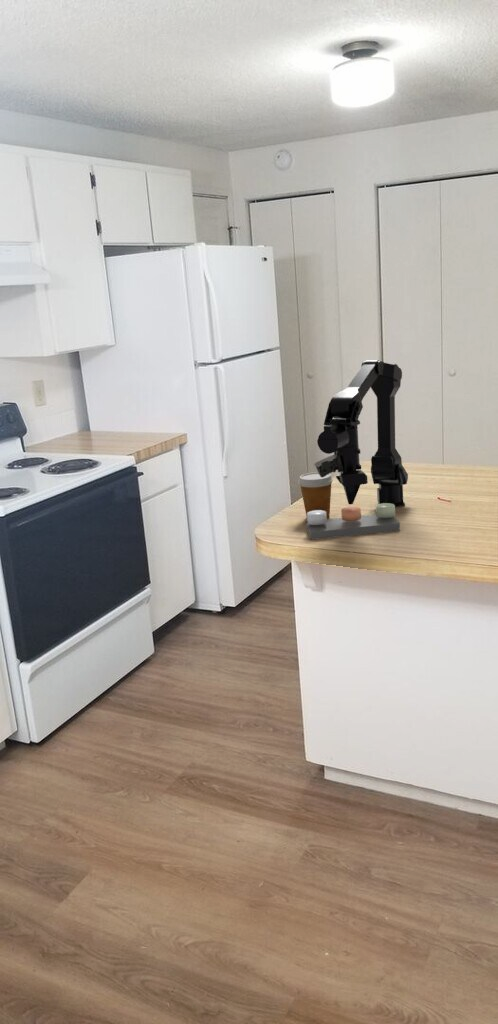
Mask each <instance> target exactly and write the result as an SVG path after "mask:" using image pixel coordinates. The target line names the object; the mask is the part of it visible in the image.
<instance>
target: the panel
mask: <svg viewBox="0 0 498 1024" xmlns="http://www.w3.org/2000/svg"><path fill="white" fill-rule="evenodd" d="M400 524H401V523H400V522H399V520H398V519H397V518H396V517H395V516H393V517H389V518H380V517H377V516H376V513H374V514H365V515H361V519H360V520H357V521H343V520H342V517H336V518H335V517H334V518H328V519H327V522H326V523H324V524H320V525H311V524H308V520H307V521H306V520H305V529H306V531H307V534H308V536H309V538H310V540H311V541H312V540H320V539H331V538H339V537H340V538H341V537H350V536H358V535H368V534H369V535H370V534H379V533H389V532H396V531H398V532H399V531H400V530H401V525H400Z"/></svg>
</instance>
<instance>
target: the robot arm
mask: <svg viewBox="0 0 498 1024" xmlns="http://www.w3.org/2000/svg"><path fill="white" fill-rule="evenodd" d="M402 371H403V370H402V368H400V367H399V365H398V364H397V363H388V362H384V361H382V360H379V359H371V360H369V359H368V360H365V361H362V363H361V367H360V369H359V370H358V371H357V372H356V374H355V376H354V377H353V378H352V380H351V381H350V383H349V384H348V386H347V387H346V388H345V389H342V390H340V391H338V392H337V393H336V394H334V395H333V397H331V398H330V401H329V402H328V406H327V410H326V414H325V418H324V422H323V431H322V432H320V433H319V435H318V438H317V440H316V441H317V447H318V449H319V450H320V451H321V452H323V453H324V454H327V455H330V454H333V455H330V456H327V457H324V458H323V459H320V460H318V461H317V462H315V463H314V466H315V468H316V472H318V473H319V475H320V477H325V476H326V475H327V474H329V473H330V474H332V473H336V471H337V473H338V475H335V478H336V479H337V481H338V483H339V484H341V485H342V487H343V490H344V493H345V498H346V500H347V503H348V505H354V502H355V501H356V497H357V495H358V492H359V489H360V486H361V485H366V484H368V482H369V481H368V475H367V474H366V473H365V472H364V471H363V470H362V465H361V464H360V454H361V449H360V447H359V430H358V428H359V427H358V426H359V425H360V424H361V421H360V420H359V417H360V415H361V412H362V410H363V407H364V404H363V402H362V401H363V399H364V398H365V396H366V394H368V392H369V391H370V389H371V390H372V392H373V393H374V395H375V397H376V409H377V410H376V415H377V417H376V418H377V422H376V423H377V426H376V427H377V450H376V452H375V453H374V455H372V457H371V459H370V460H371V461H370V462H371V466H370V474H371V478H372V483H373V484H374V485H378V488H376V496H377V502H378V504H382V503H391V504H394V505H395V507H401V506H405V505H406V503H405V502H404V485H407V484H408V479H409V474H408V472H407V471H406V468H404V466H403V462H402V457H401V455H400V453H399V452H398V450H397V449H396V403H395V402H396V401H395V400H396V399H395V398H396V395H397V393H398V392H399V390H400V388H401V383H402V382H401V380H402V379H403V372H402Z"/></svg>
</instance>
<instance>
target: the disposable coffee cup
mask: <svg viewBox="0 0 498 1024" xmlns="http://www.w3.org/2000/svg"><path fill="white" fill-rule="evenodd" d="M333 481H334V479H333V477H332V473H329V474H327V475H326V476H325V477H320V475H319V473H318V471H316V472H308V473H303V474H302V475H300V476H299V480H298V481H297V483H298V484H299V486H300V491H301V495H302V502H303V506H304V510H305V515H306V517H307V513H308V512H310V511H314V510H323V511H326V515H327V519H330V515H331V514H330V510H331V499H332V498H331V497H332V483H333Z"/></svg>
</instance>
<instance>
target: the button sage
mask: <svg viewBox="0 0 498 1024" xmlns="http://www.w3.org/2000/svg"><path fill="white" fill-rule="evenodd" d="M374 508H375V514H376V516H377V517H380V518H389V517H393V516H394V517H395V516H396V506H395V505H394V504H391V503H382V504H379V503H378V504H375V507H374Z"/></svg>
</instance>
